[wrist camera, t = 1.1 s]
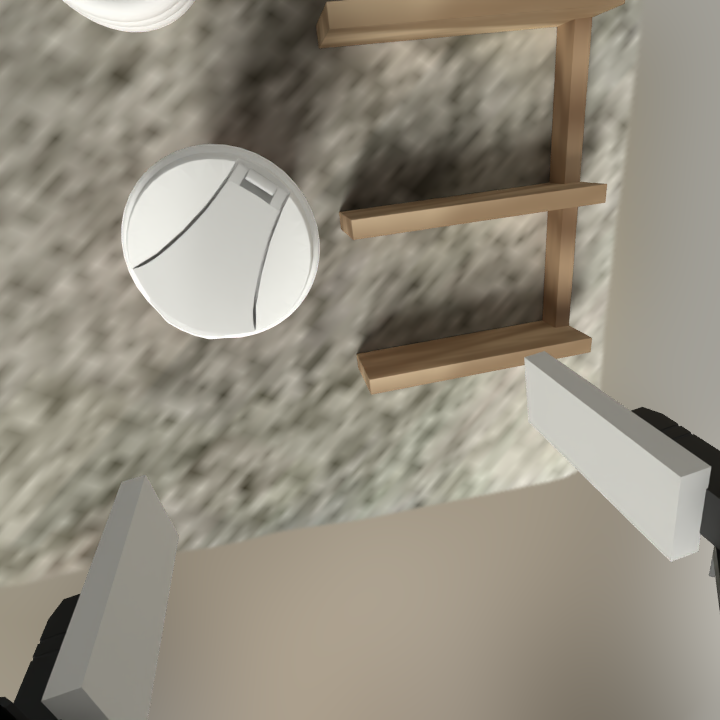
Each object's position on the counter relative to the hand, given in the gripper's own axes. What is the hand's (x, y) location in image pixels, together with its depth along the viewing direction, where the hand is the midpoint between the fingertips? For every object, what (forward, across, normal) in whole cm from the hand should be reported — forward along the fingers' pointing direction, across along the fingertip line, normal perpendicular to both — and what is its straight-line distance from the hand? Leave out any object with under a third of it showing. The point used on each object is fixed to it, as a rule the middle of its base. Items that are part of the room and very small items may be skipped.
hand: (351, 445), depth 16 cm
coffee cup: (+22, -2, +6) cm, 23 cm away
